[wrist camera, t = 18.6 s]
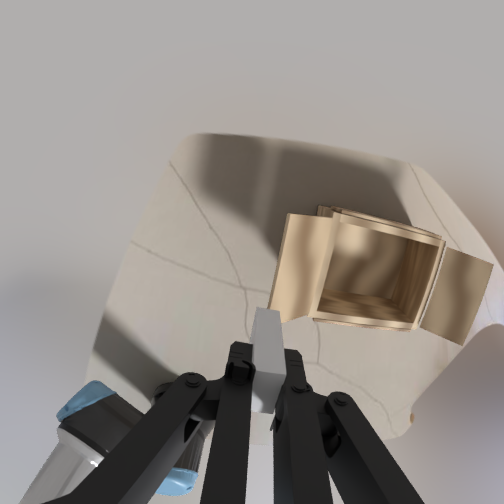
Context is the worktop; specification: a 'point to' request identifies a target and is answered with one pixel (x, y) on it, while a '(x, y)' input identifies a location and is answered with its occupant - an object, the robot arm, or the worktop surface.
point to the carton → (375, 272)
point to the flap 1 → (299, 264)
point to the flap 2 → (456, 296)
